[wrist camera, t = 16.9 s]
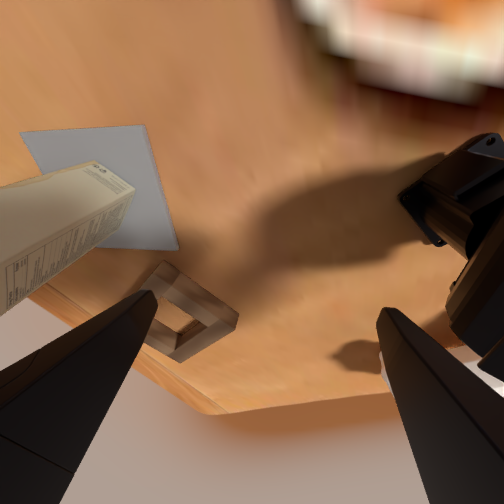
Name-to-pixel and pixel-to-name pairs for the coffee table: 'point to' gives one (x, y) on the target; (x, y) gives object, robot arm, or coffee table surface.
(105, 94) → the coffee table surface
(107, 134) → the slate mat
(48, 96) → the coffee table surface
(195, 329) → the walnut holder
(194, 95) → the coffee table surface
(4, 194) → the skincare box
